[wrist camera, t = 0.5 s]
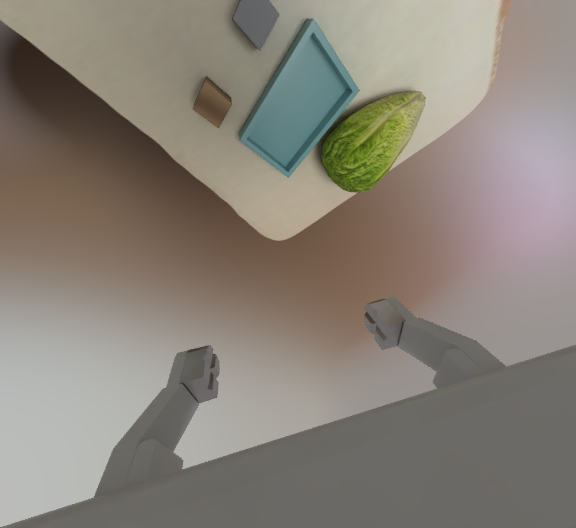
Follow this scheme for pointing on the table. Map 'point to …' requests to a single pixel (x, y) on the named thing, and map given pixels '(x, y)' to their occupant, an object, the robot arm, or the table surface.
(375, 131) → the lettuce
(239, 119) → the table surface
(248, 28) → the charcoal block
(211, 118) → the walnut block
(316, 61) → the teal tray
